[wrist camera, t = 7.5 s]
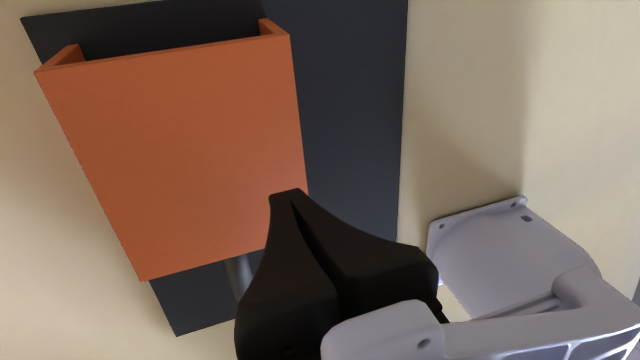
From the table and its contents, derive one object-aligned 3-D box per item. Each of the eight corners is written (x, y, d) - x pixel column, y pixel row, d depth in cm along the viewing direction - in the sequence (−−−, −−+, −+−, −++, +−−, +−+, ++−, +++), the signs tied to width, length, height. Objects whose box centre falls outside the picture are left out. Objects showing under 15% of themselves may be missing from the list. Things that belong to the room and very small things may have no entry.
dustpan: (289, 33, 14) (31, 71, 12) (322, 309, 23) (177, 355, 21) (267, 17, 18) (66, 45, 16) (303, 261, 27) (178, 297, 25)
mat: (406, -29, 19) (409, -29, 19) (392, 265, 31) (395, 268, 31) (22, 17, 15) (19, 18, 15) (176, 332, 27) (176, 337, 27)
